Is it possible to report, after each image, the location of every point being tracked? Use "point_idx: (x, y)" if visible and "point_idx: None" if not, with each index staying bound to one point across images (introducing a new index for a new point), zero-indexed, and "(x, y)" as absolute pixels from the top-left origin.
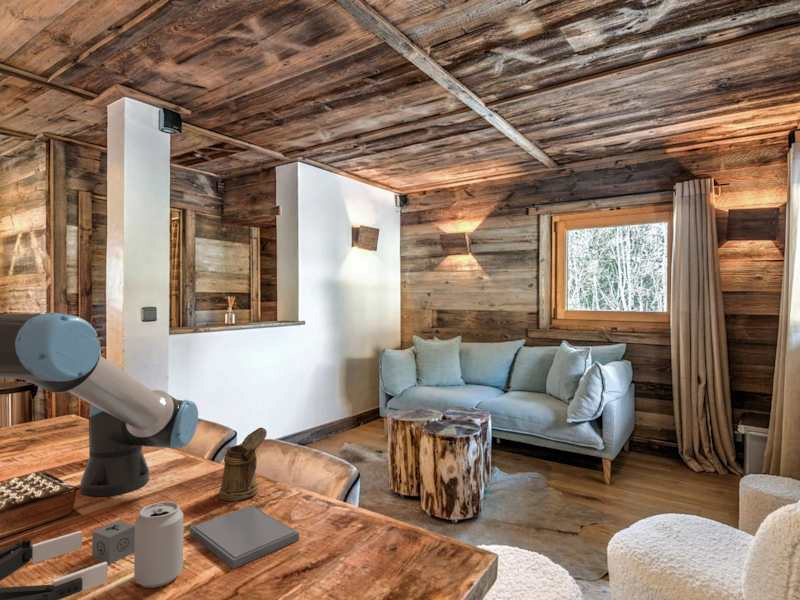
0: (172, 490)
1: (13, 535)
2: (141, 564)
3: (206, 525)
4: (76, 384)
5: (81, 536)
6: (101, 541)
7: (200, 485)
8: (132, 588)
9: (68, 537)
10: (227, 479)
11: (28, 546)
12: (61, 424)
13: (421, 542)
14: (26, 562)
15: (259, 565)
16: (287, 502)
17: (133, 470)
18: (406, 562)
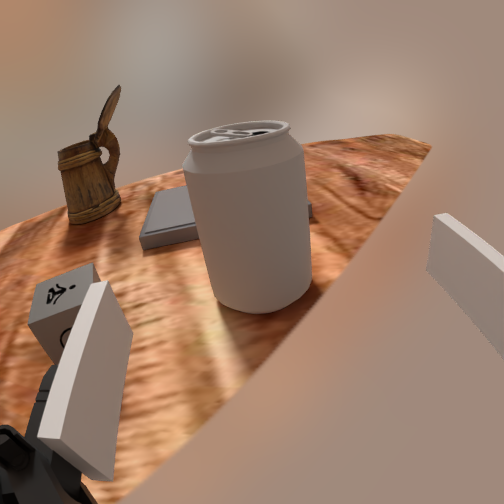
0: (3, 261)
1: None
2: (288, 260)
3: (160, 221)
4: None
5: (114, 296)
6: (69, 326)
7: (28, 238)
8: (274, 325)
9: (97, 318)
10: (84, 189)
11: (31, 452)
12: None
13: (351, 141)
14: (89, 496)
15: (320, 200)
16: (173, 182)
17: None
18: (379, 148)
